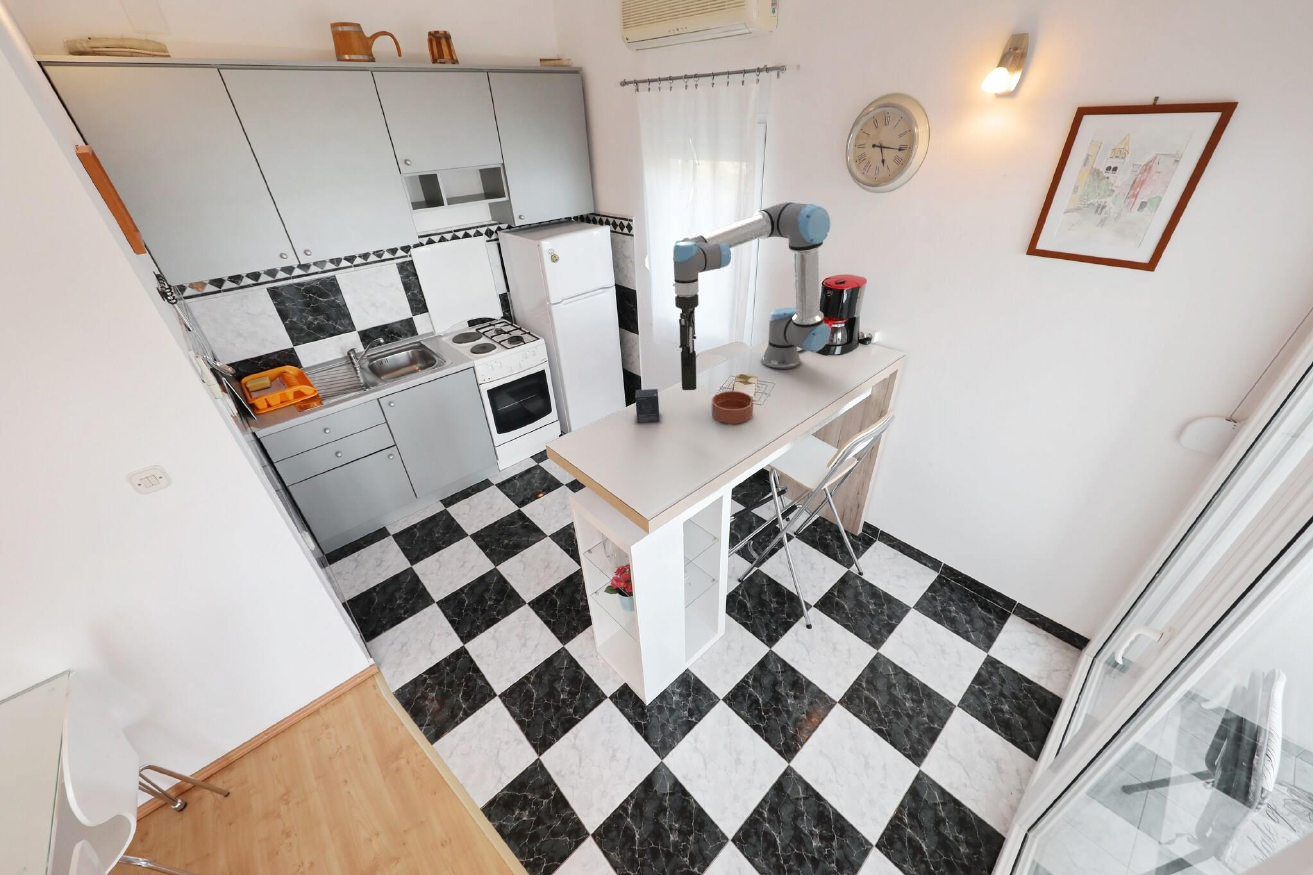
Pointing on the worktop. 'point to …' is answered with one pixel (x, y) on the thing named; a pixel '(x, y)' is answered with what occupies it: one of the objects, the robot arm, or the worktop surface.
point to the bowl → (732, 407)
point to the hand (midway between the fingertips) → (688, 361)
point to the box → (647, 405)
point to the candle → (689, 369)
